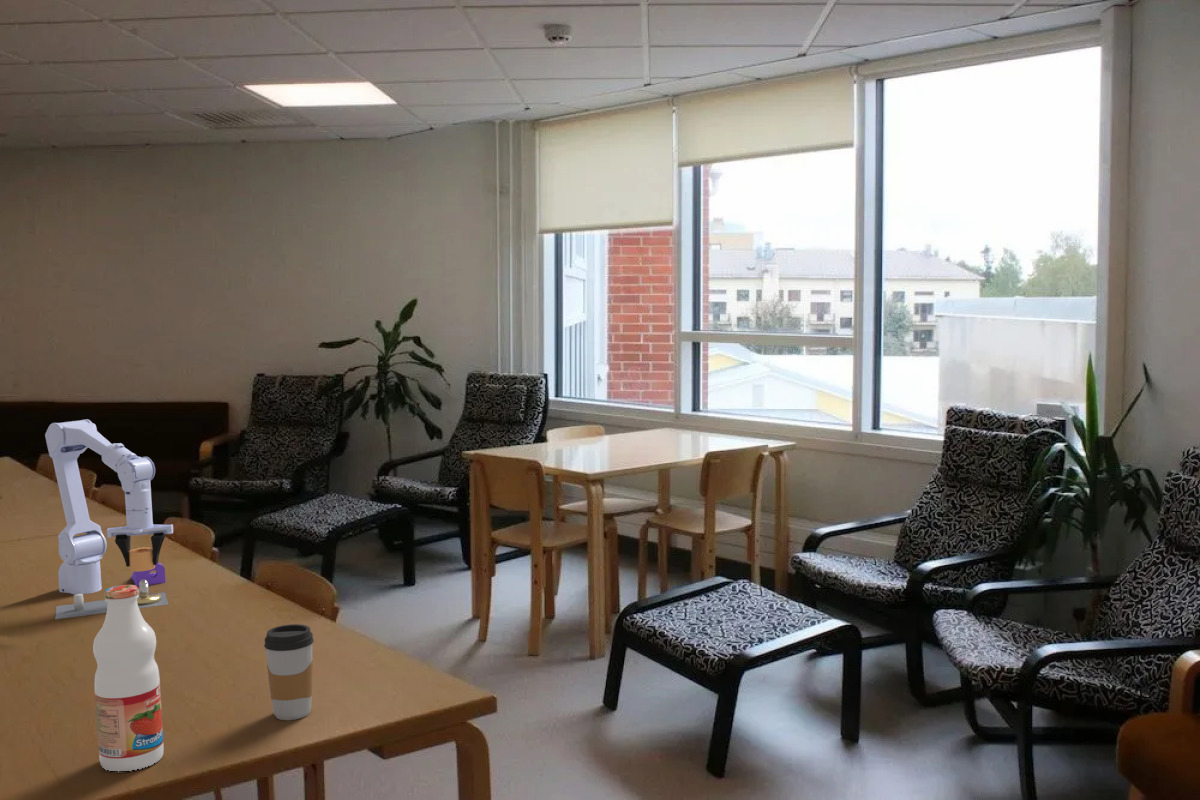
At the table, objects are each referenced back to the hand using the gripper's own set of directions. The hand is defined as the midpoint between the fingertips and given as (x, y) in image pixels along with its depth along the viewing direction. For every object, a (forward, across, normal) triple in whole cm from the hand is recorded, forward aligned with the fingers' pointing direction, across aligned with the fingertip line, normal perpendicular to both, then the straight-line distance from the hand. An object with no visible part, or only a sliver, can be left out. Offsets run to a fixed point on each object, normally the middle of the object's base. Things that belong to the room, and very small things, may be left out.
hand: (142, 564), depth 256 cm
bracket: (+11, -4, +22) cm, 25 cm away
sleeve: (+1, 0, 0) cm, 1 cm away
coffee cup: (+11, +42, -78) cm, 89 cm away
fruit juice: (+11, +18, -92) cm, 95 cm away
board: (+10, -7, -2) cm, 13 cm away
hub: (+9, 0, 0) cm, 9 cm away
